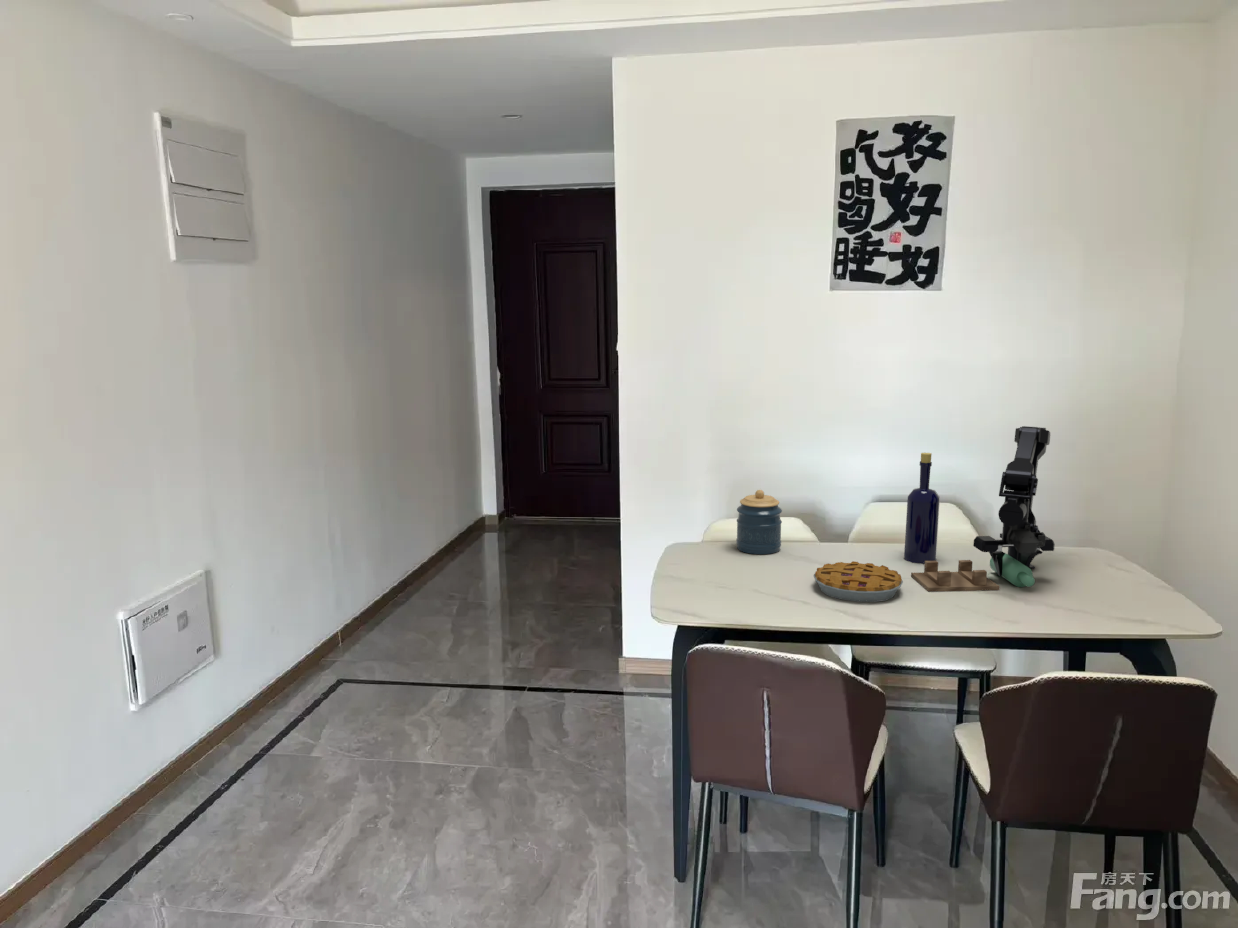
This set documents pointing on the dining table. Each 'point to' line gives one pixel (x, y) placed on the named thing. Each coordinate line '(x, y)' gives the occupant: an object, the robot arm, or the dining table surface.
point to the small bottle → (1015, 572)
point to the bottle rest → (954, 578)
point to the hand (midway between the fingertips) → (1011, 575)
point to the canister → (759, 524)
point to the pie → (858, 581)
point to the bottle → (922, 518)
